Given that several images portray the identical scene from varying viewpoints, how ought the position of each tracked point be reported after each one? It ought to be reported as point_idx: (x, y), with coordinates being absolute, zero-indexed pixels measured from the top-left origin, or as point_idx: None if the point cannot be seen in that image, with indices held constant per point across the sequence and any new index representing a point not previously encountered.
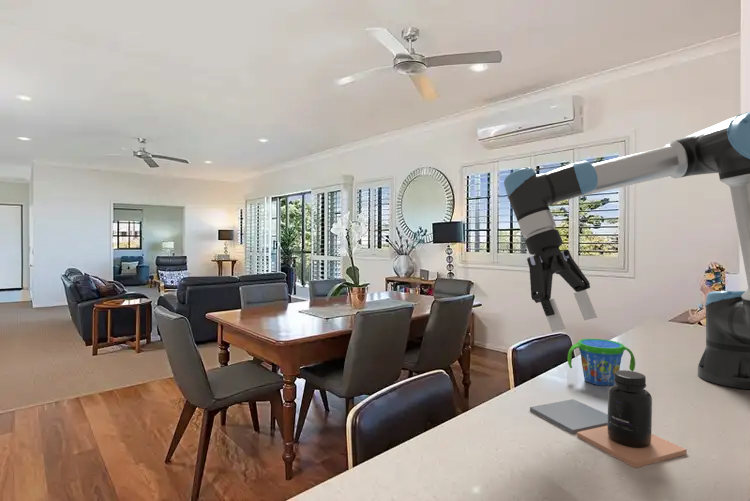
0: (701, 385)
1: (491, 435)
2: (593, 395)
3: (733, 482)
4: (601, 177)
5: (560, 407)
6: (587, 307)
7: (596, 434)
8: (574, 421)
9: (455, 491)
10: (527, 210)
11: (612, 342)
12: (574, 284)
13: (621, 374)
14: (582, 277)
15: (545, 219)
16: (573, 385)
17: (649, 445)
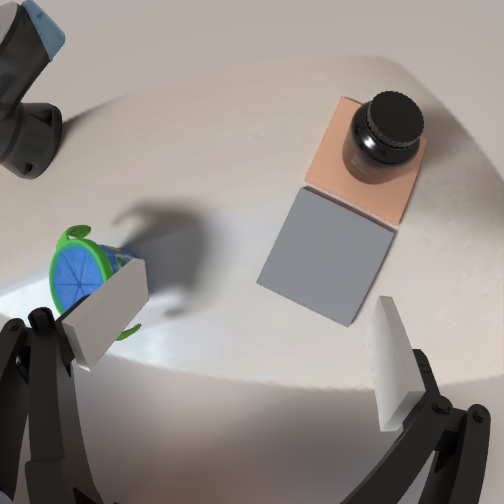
0: (66, 158)
1: (460, 321)
2: (195, 265)
3: (373, 61)
4: None
5: (314, 285)
6: (122, 295)
7: (385, 199)
8: (360, 243)
9: None
10: None
11: (55, 268)
12: (67, 383)
13: (413, 128)
14: (9, 357)
15: None
16: (168, 309)
17: None
